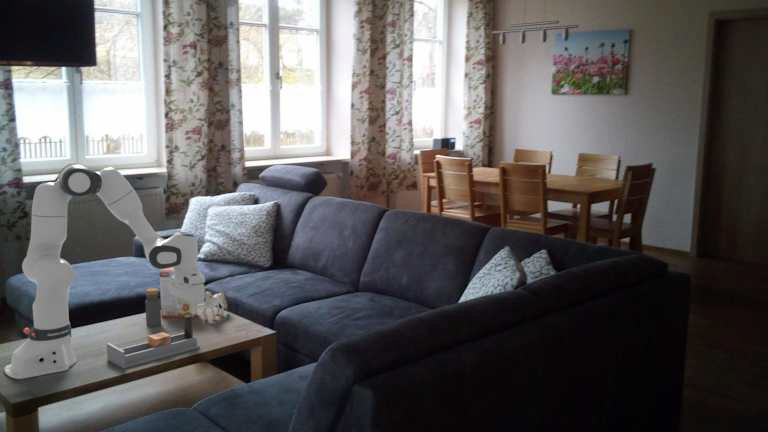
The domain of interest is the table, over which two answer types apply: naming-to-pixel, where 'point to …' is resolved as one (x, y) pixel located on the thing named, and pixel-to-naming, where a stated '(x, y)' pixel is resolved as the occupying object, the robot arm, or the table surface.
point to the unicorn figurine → (214, 303)
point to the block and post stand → (165, 339)
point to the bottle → (153, 308)
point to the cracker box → (171, 298)
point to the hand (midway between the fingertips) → (186, 310)
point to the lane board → (148, 351)
